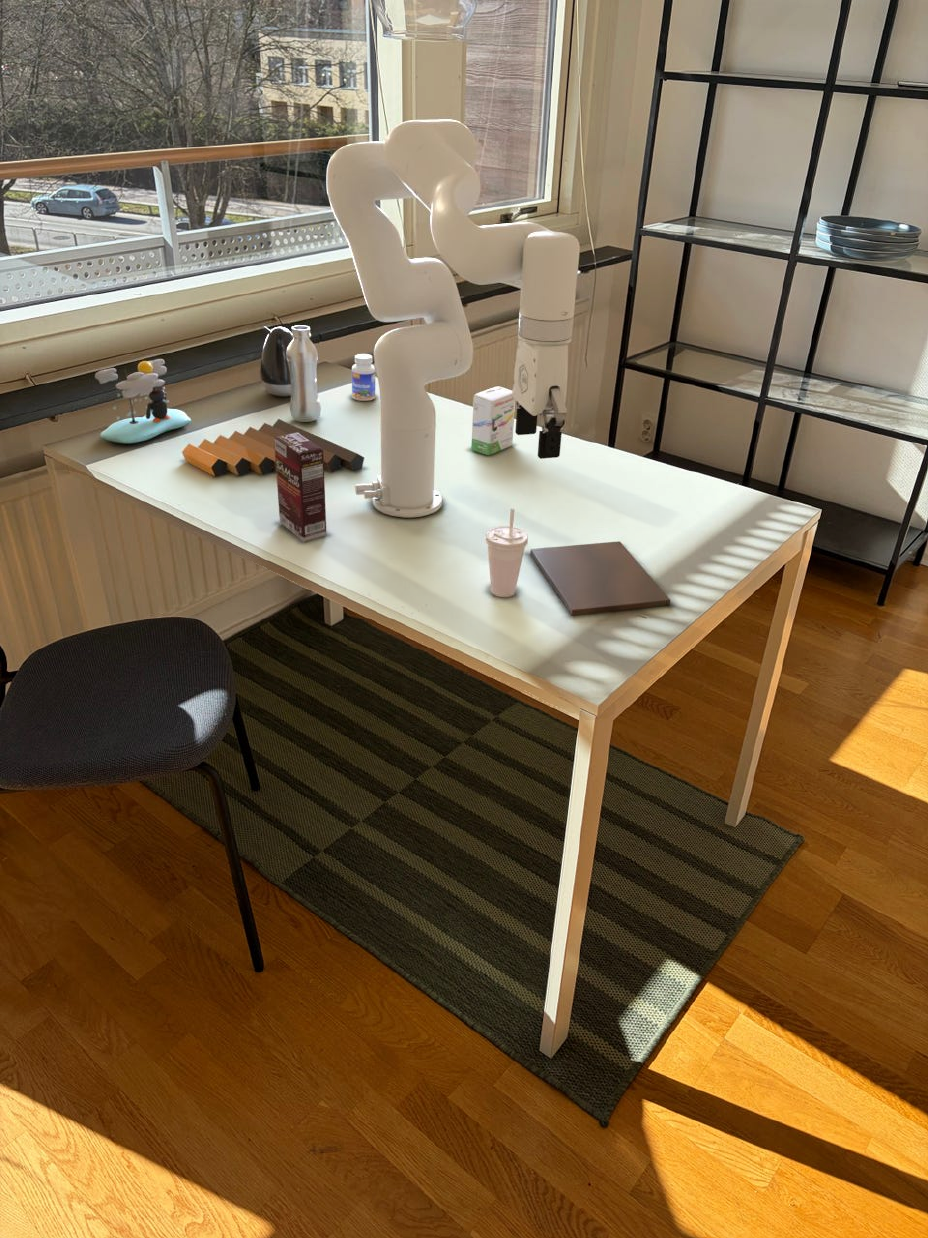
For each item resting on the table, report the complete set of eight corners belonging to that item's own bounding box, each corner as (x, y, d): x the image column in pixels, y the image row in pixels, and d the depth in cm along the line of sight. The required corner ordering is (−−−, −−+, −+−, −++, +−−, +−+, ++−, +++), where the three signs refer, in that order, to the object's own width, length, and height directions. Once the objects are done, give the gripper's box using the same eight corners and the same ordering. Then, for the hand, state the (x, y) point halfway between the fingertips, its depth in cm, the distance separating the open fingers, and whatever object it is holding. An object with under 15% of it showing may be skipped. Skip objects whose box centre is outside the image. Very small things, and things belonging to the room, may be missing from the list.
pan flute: (364, 467, 188) (286, 432, 202) (364, 451, 186) (285, 416, 200) (259, 502, 172) (182, 461, 186) (258, 485, 170) (180, 445, 185)
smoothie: (520, 604, 145) (527, 520, 138) (478, 598, 146) (483, 515, 139) (526, 584, 151) (533, 502, 143) (486, 578, 152) (491, 497, 144)
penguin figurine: (169, 413, 209) (161, 344, 201) (202, 425, 204) (195, 354, 196) (90, 438, 195) (78, 365, 187) (123, 451, 190) (112, 376, 182)
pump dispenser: (282, 382, 230) (278, 318, 222) (314, 392, 225) (311, 326, 217) (251, 393, 223) (246, 327, 215) (283, 403, 218) (279, 335, 210)
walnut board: (571, 615, 143) (572, 610, 142) (530, 554, 159) (530, 548, 159) (669, 605, 147) (670, 599, 146) (619, 546, 163) (619, 541, 162)
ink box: (488, 456, 195) (492, 400, 189) (469, 450, 198) (472, 394, 192) (513, 445, 201) (517, 390, 195) (494, 439, 204) (498, 385, 197)
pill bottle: (349, 400, 221) (348, 358, 216) (355, 392, 226) (354, 351, 221) (372, 402, 220) (371, 360, 215) (377, 395, 225) (377, 353, 220)
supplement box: (278, 523, 165) (272, 436, 157) (302, 517, 168) (298, 430, 159) (302, 543, 159) (298, 453, 151) (328, 536, 162) (324, 447, 154)
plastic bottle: (319, 425, 206) (315, 332, 196) (287, 424, 206) (282, 330, 196) (323, 415, 212) (319, 324, 201) (292, 414, 212) (287, 322, 201)
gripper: (500, 314, 139) (494, 427, 148) (541, 346, 125) (532, 469, 134) (548, 312, 141) (540, 423, 150) (595, 343, 127) (582, 465, 135)
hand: (536, 445), depth 142 cm, fingers open, 9 cm apart
